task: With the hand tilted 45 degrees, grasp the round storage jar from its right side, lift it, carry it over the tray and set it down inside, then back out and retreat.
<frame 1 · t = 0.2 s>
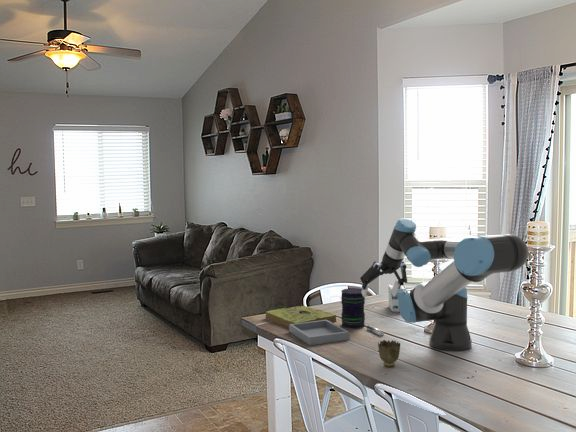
hand: (378, 294, 239), 15 cm above the table, tool tilted 30°, fingers open, 13 cm apart
light bulb box: (396, 309, 274), on the table
cup: (389, 366, 197), on the table
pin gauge: (375, 333, 236), on the table
tray: (318, 335, 233), on the table
storage jar: (353, 326, 247), on the table
miniature landscape model: (300, 321, 257), on the table
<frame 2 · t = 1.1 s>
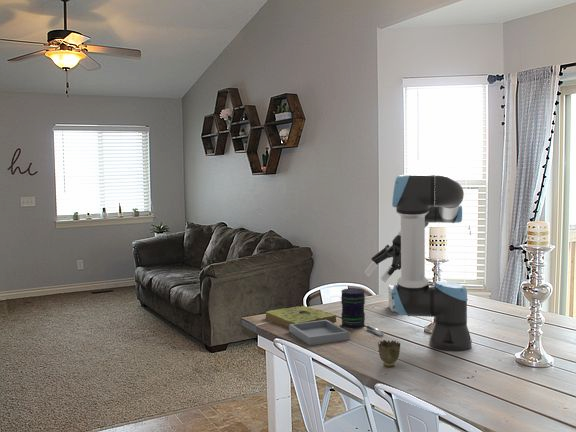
hand: (374, 277, 249), 20 cm above the table, tool tilted 45°, fingers open, 13 cm apart
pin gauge: (375, 333, 236), on the table, tilted 7°
everything else where it was.
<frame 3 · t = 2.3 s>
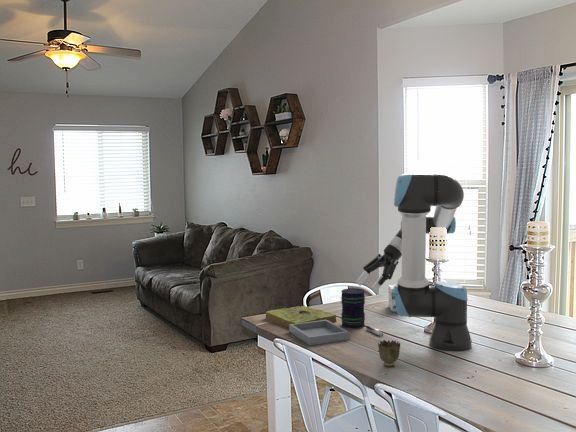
hand: (365, 286, 250), 16 cm above the table, tool tilted 45°, fingers open, 13 cm apart
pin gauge: (375, 333, 236), on the table, tilted 22°
everything else where it was.
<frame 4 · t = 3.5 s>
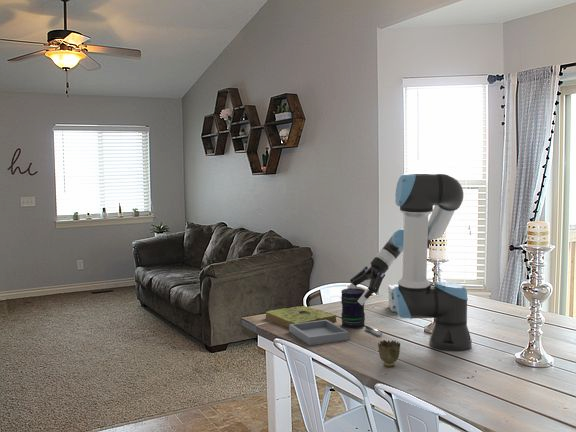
hand: (351, 299, 247), 11 cm above the table, tool tilted 45°, fingers open, 13 cm apart
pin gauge: (375, 332, 236), on the table, tilted 49°
everything else where it was.
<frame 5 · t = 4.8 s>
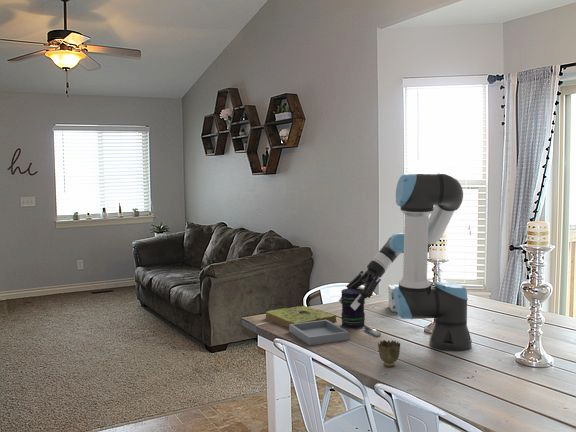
hand: (346, 305, 245), 9 cm above the table, tool tilted 45°, fingers closed on storage jar, 10 cm apart
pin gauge: (374, 330, 236), point 1 cm above the table, tilted 90°
storage jar: (353, 326, 247), on the table, touching gripper
everything else where it was.
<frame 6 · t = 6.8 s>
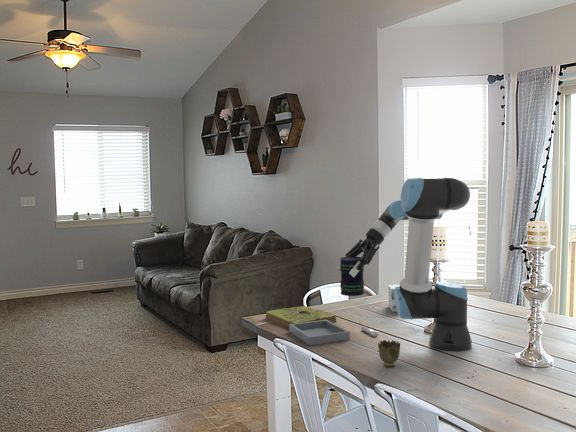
hand: (345, 273, 244), 23 cm above the table, tool tilted 45°, fingers closed on storage jar, 10 cm apart
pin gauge: (369, 329, 235), point 2 cm above the table, tilted 177°
storage jar: (352, 293, 246), point 14 cm above the table, touching gripper
everything else where it was.
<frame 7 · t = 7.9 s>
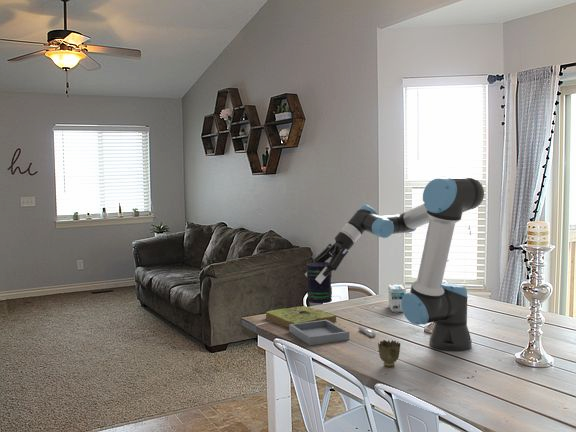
hand: (312, 279, 232), 23 cm above the table, tool tilted 45°, fingers closed on storage jar, 10 cm apart
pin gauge: (364, 331, 234), point 1 cm above the table, tilted 108°
storage jar: (319, 301, 234), point 14 cm above the table, touching gripper
everything else where it was.
when the fingers open (11 cm above the table, at t = 10.8 s): storage jar drops 1 cm, resting on tray.
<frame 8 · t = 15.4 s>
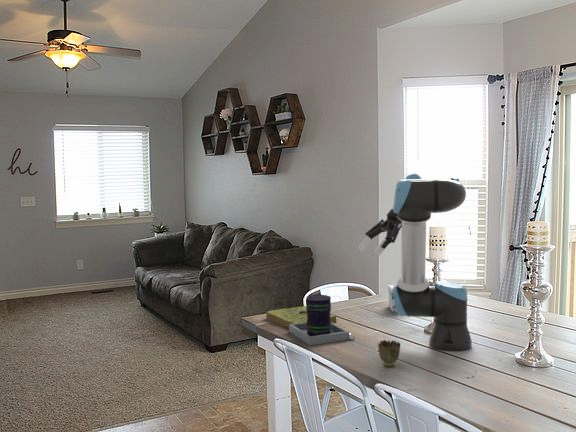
hand: (368, 251, 244), 32 cm above the table, tool tilted 45°, fingers open, 13 cm apart
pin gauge: (347, 332, 231), point 2 cm above the table, tilted 149°
storage jar: (319, 334, 233), resting on tray
everything else where it was.
at the end: storage jar inside the target area on the tray (0.2 cm from its centre), point 0.4 cm above the tray's base; storage jar tilted 0°; the gripper is holding nothing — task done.
